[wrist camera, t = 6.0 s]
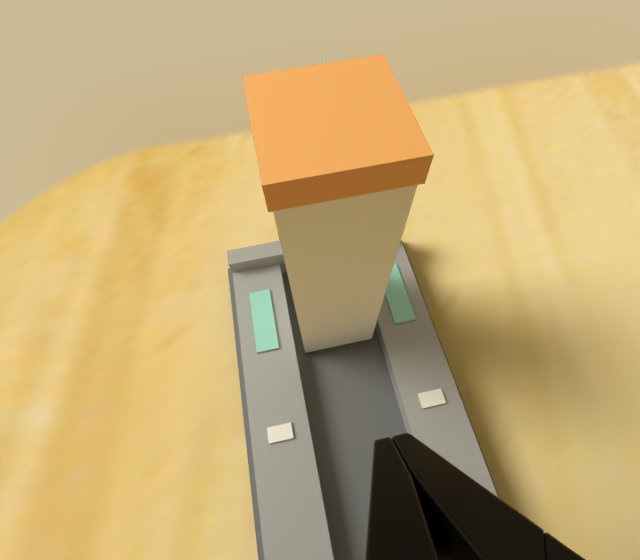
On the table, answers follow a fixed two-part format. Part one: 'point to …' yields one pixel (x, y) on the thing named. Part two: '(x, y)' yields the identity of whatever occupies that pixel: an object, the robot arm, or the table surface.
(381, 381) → the console
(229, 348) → the table surface
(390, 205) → the fader knob
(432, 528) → the robot arm
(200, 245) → the table surface
